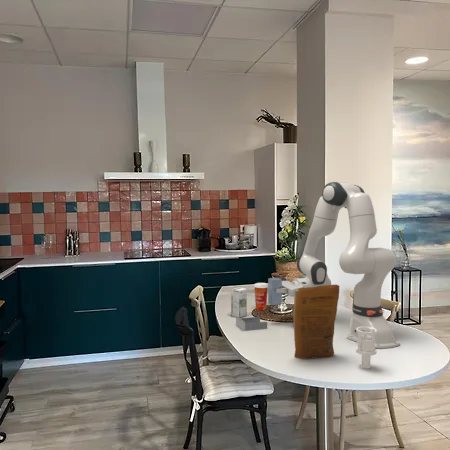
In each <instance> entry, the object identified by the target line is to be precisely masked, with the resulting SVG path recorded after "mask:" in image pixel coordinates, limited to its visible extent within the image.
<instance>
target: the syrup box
mask: <svg viewBox="0 0 450 450" xmlns="http://www.w3.org/2000/svg"><path fill="white" fill-rule="evenodd" d="M230 293H231V297H230V298H231V299H230V300H231V302H230V303H231V308H230V309H231V312H230V314H231V315H230V316H231V317H233V318H236V317H239V318H245V317H247V315H248V314H247V307H248V306H247V305H248V302H247V300H248V297H247V296H248V294H247V293H248V290H247V288H245V287H240V286H239V287H236V288H231V292H230Z"/></svg>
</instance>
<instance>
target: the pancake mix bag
mask: <svg viewBox="0 0 450 450" xmlns="http://www.w3.org/2000/svg"><path fill="white" fill-rule="evenodd" d="M339 298H340V285H338V284H331V285H323V286H317V287H308V288H298V291H295V297H293V299H294V300H293V301H294V303H293V311H292V312H293V314H292V315H293V331H294V332H293V333H294V334H293V335H294V337H293V340H294V348H295V350H294V357H295V358H297V359H301V360H308V359H318V358H319V359H320V358H331V357H333V356H334V354H335V350H334V336H335V324H336V323H335V322H336V317H337V312H338V304H339V303H338V302H339Z"/></svg>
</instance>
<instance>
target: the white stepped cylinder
mask: <svg viewBox="0 0 450 450" xmlns="http://www.w3.org/2000/svg"><path fill="white" fill-rule="evenodd" d="M359 330H370V332H363V331H359ZM356 332H357V333H358V342H357V346H356V347H355V353H356V354H358V355H361V364H360V366H361V368H362V369H366V370H367V369H370V368H371V356H372V357H373V356H375V355H377V348H375V335H376V334H377V330H376V329H375V328H371V327H357V328H356ZM364 336H365V337H364Z"/></svg>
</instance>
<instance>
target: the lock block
mask: <svg viewBox="0 0 450 450" xmlns="http://www.w3.org/2000/svg"><path fill="white" fill-rule="evenodd" d="M267 281H268V282H267V286H268V287H267V299H268V300H267V303H268V304H270V305H271V306H278V305H282V304H283V293H277V292H275V291H276V290H275V289H276V288H279V289H282V281H283V280H282V278H280V277H270V278H268V279H267Z"/></svg>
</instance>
